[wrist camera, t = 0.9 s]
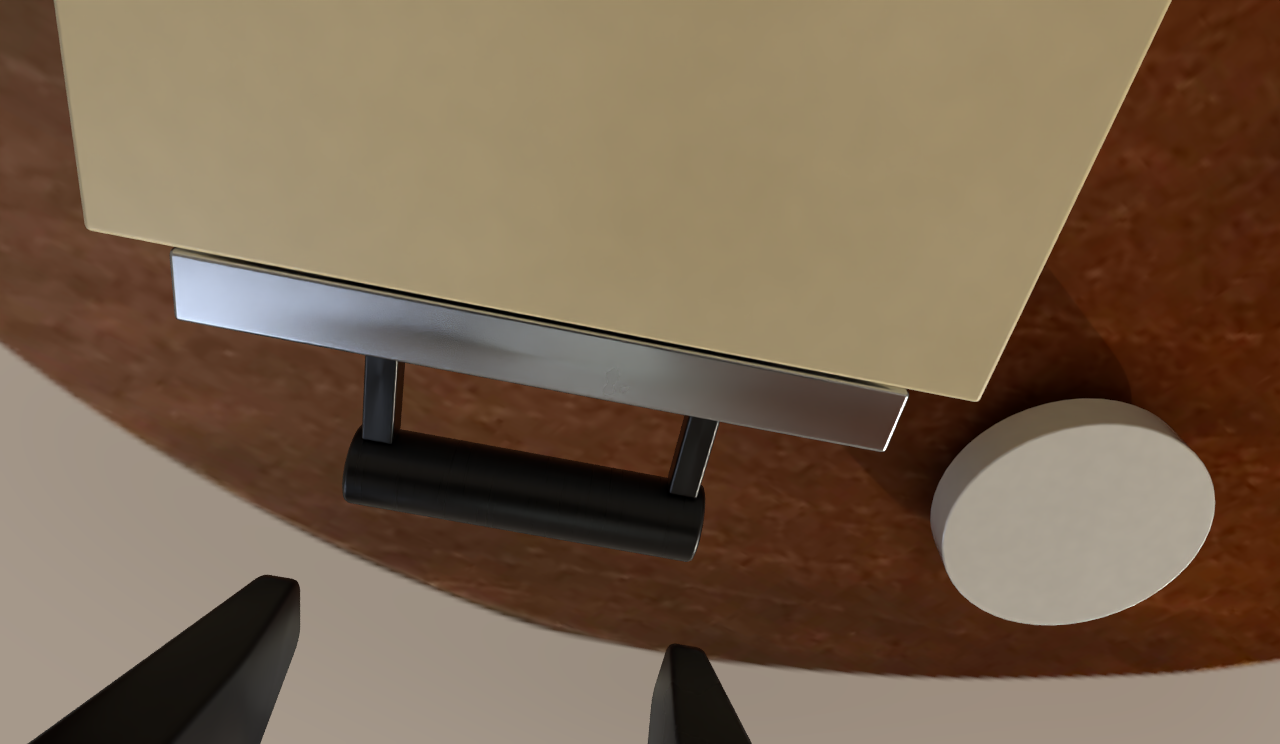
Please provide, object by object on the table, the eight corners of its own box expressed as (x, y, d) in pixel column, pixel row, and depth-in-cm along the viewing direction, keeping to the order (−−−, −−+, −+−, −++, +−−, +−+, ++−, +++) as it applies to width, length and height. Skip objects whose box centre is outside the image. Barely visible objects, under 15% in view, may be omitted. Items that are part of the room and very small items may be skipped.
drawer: (767, 442, 22) (802, 647, 16) (326, 360, 21) (192, 545, 15) (1090, -507, 13) (1439, -832, 7) (342, -714, 12) (31, -1280, 6)
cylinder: (1106, 597, 25) (1134, 643, 24) (889, 558, 25) (904, 603, 23) (1228, 411, 22) (1271, 451, 20) (981, 363, 22) (1005, 400, 20)
